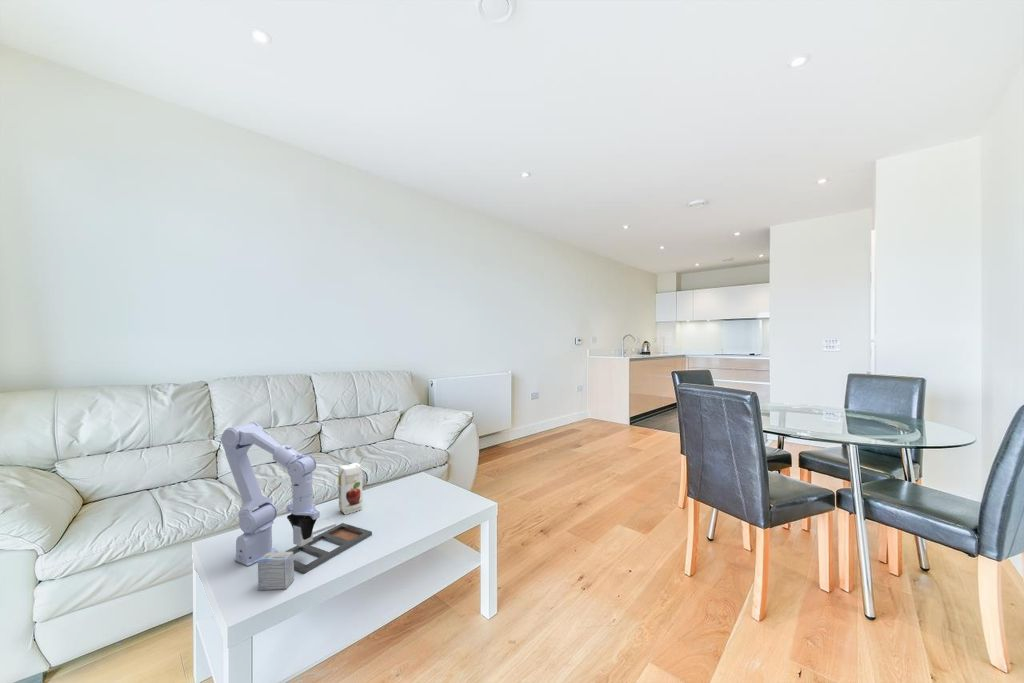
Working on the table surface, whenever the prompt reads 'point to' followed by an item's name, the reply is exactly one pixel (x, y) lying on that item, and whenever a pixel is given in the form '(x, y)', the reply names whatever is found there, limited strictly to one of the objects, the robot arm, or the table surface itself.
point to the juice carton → (350, 488)
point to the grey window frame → (337, 535)
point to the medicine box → (275, 571)
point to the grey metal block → (300, 535)
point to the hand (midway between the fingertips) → (303, 536)
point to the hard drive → (323, 525)
